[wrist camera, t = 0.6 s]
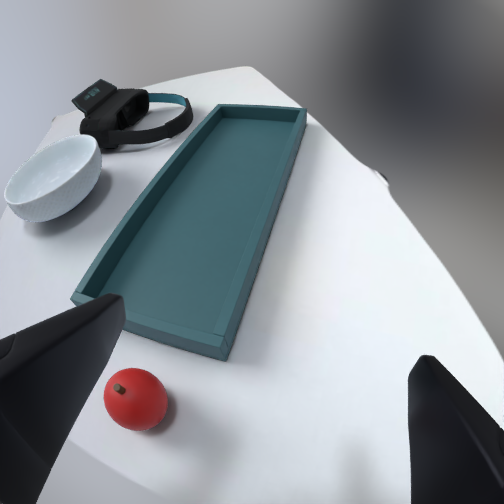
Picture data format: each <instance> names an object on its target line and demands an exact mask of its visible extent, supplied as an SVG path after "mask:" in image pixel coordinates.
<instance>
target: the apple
mask: <svg viewBox="0 0 504 504" xmlns="http://www.w3.org/2000/svg"><path fill="white" fill-rule="evenodd" d="M104 403H105V407H106V410H107V411H108V413H109V415H110V416H111V418H112V419H113V420H114V421H115V422H116V423H118V424H119V425H121V426H122V427H124V428H126V429H130V430H134V431H143V430H148V429H150V428H152V427H154V426H156V425H157V424H158V423H160V421H161V420H162V419H163V418H164V416H165V414H166V411H167V406H168V398H167V393H166V391H165V388H164V386H163V385H162V383H161V382H160V381H159V380H158V378H157V377H155V376H154V375H153V374H151V373H150V372H148V371H145V370H142V369H138V368H128V369H124V370H121V371H119V372H117V373H116V374H114V375H113V376H112V377H111V378H110V379H109V381H108V382H107V384H106V387H105V390H104Z"/></svg>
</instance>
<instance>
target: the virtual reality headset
mask: <svg viewBox="0 0 504 504" xmlns="http://www.w3.org/2000/svg"><path fill="white" fill-rule="evenodd" d="M72 102H73V103H74V105H75V106H76V107H77V108H78V109H79V110H80V111H82V112H83V113H85V117H86V118H84V119H83V120H82V121H81V124H80V135H90V136H92V137H94V138H95V140H96V141H97V143H98V146H99V148H116V147H118V145H119V144H146V143H152V142H156V141H160V140H163V139H165V138H172V137H173V136H175V135H177V134H179V133H180V132H182V131H184V130H185V129H186V128H187V127H188V126H189V125H190V123H191V122H192V119H193V113H192V108H191V105H190V103H189V100H188V99H187V98H186V99H185V98H184V97H182V96H180V95H177V94H166V93H148V92H147V91H146V90H144V89H118V90H117V87H115V86H114V85H112V84H110V83H108V82H106V81H104V80H102V79H100V80H98V81H97V82H95V83H94V84H93V85H91V86H90V87H88V88H87V89H86V90H84V91H83V92H82V93H80V94H79V95H78V96H76V97H75V98H74V99H72ZM149 102H166V103H176V104H180V105H183V106H185V107H186V108H185V110H184V111H183V112H182V114H180V115H179V116H178V117H176V118H174V119H173V120H171V121H169V122H167V123H165V125H163V126H160V127H157V128H154V129H149V130H142V131H122V130H124V129H125V128H126V127H129V126H131V125H134V124H135V123H136V122H137V121H138V120H139V119H140V118H141V117H142V116H144V115H145V114H146V113H147V112H148V110H149Z"/></svg>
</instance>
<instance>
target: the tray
mask: <svg viewBox="0 0 504 504" xmlns="http://www.w3.org/2000/svg"><path fill="white" fill-rule="evenodd" d="M306 121H307V109H305V108H294V107H281V106H264V105H238V104H218V105H217V106H216V107H215V108H214V109H213V110H212V111H211V112H210V113H209V114H208V115H207V117H206V118H205V119H204V120H203V121H202V122H201V123H200V124H199V125H198V126H197V127H196V129H195V130H194V131H193V132H192V133H191V134H190V135H189V136H188V138H187V139H186V140H185V141H184V142H183V143H182V144H181V146H180V147H179V148H178V149H177V150H176V151H175V153H174V154H173V155H172V156H171V157H170V159H169V160H168V161H167V162H166V163H165V165H164V166H163V167H162V168H161V169H160V171H159V172H158V173H157V174H156V176H155V177H154V178H153V179H152V181H151V182H150V183H149V184H148V186H147V187H146V188H145V190H144V191H143V192H142V193H141V195H140V196H139V197H138V199H137V200H136V201H135V203H134V204H133V205H132V207H131V208H130V209H129V211H128V212H127V213H126V215H125V216H124V218H123V219H122V220H121V222H120V223H119V224H118V226H117V227H116V229H115V230H114V231H113V233H112V234H111V236H110V237H109V239H108V240H107V242H106V243H105V244H104V246H103V247H102V249H101V250H100V252H99V253H98V255H97V256H96V258H95V259H94V261H93V263H92V264H91V266H90V267H89V269H88V270H87V272H86V273H85V275H84V277H83V278H82V280H81V281H80V283H79V285H78V286H77V288H76V289H75V291H74V293H73V294H72V296H71V298H70V300H71V301H72V302H73V303H74V304H75V305H76V306H79V305H81V304H84V303H86V302H88V301H91V300H93V299H95V298H98V297H100V296H103V295H105V294H107V293H115V294H119V295H121V296H122V297H123V299H124V305H125V313H126V321H125V325H124V327H123V330H126V331H128V332H131V333H134V334H137V335H140V336H143V337H146V338H149V339H152V340H155V341H158V342H161V343H164V344H167V345H170V346H173V347H177V348H180V349H183V350H186V351H190V352H193V353H197V354H200V355H204V356H207V357H211V358H214V359H218V360H222V361H226V360H227V357H228V354H229V351H230V349H231V346H232V343H233V340H234V337H235V334H236V331H237V328H238V326H239V323H240V320H241V317H242V314H243V311H244V308H245V305H246V302H247V300H248V297H249V294H250V291H251V288H252V285H253V282H254V279H255V276H256V273H257V270H258V267H259V264H260V262H261V259H262V256H263V253H264V250H265V247H266V244H267V241H268V238H269V235H270V232H271V229H272V226H273V223H274V220H275V217H276V214H277V211H278V208H279V205H280V202H281V199H282V196H283V193H284V190H285V187H286V184H287V181H288V178H289V175H290V172H291V169H292V166H293V163H294V160H295V157H296V154H297V151H298V148H299V145H300V142H301V139H302V136H303V133H304V130H305V127H306Z"/></svg>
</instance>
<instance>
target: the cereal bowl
mask: <svg viewBox="0 0 504 504" xmlns="http://www.w3.org/2000/svg"><path fill="white" fill-rule="evenodd" d="M101 167H102V156H101V152H100V149H99V146H98V143H97V141H96V140H95V138H94V137H92V136H90V135H74V136H70V137H67V138H64V139H61V140H59V141H56V142H54V143H52V144H50V145H48V146H47V147H45V148H43V149H42V150H40V151H39V152H37V153H36V154H35V155H33V156H32V157H31V158H30V159H28V160H27V161H26V162H25V163H24V164H23V165H22V166H21V167H20V168H19V169H18V170H17V171H16V172H15V174H14V175H13V176H12V178H11V179H10V181H9V183H8V184H7V187H6V189H5V194H4V195H5V200H6V202H7V204H8V205H9V207H10V208H11V209H12V211H13V212H14V213H15V214H16V215H17V216H18V217H20V218H21V219H24V220H27V221H29V222H43V221H49V220H51V219H54V218H57V217H59V216H61V215H63V214H65V213H66V212H68V211H70V210H71V209H73V208H74V207H75V206H76V205H78V204H79V203H80V202H81V201H82V200H83V199H84V198H85V197H86V196H87V195H88V194H89V193H90V191H91V190H92V189H93V187H94V186H95V184H96V182H97V180H98V178H99V175H100V172H101Z"/></svg>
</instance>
